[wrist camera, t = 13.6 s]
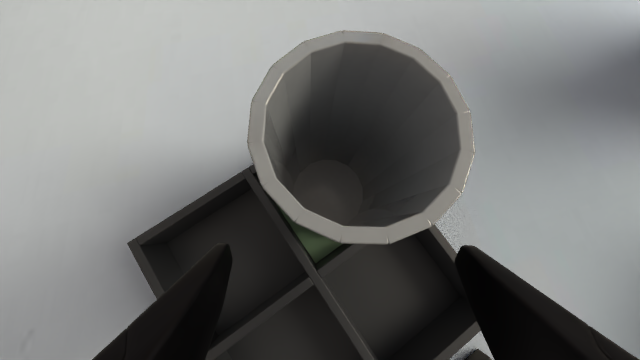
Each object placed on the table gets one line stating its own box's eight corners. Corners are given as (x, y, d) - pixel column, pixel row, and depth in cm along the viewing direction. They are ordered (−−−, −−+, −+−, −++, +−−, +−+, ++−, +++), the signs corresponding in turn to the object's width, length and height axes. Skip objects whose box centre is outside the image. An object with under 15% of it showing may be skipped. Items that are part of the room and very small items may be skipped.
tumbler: (348, 247, 19) (434, 287, 6) (274, 214, 19) (204, 181, 6) (377, 175, 20) (499, 79, 7) (308, 145, 20) (307, 1, 7)
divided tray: (281, 457, 16) (273, 519, 13) (159, 240, 19) (126, 243, 15) (466, 296, 19) (501, 311, 15) (339, 126, 21) (344, 106, 18)
